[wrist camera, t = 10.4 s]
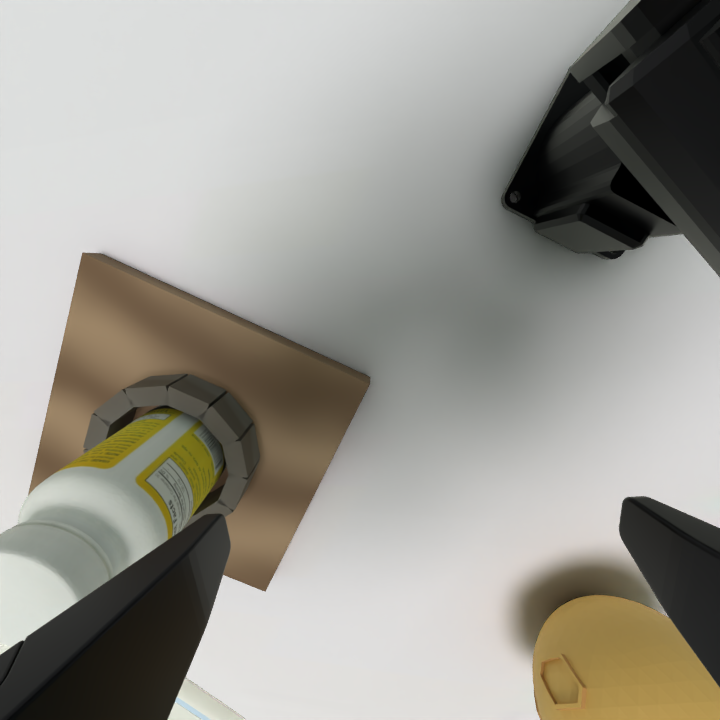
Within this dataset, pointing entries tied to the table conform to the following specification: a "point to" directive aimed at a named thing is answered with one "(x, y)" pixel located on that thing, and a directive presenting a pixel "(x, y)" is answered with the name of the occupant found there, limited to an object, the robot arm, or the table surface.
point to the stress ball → (618, 665)
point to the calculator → (192, 703)
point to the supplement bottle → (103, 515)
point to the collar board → (201, 400)
